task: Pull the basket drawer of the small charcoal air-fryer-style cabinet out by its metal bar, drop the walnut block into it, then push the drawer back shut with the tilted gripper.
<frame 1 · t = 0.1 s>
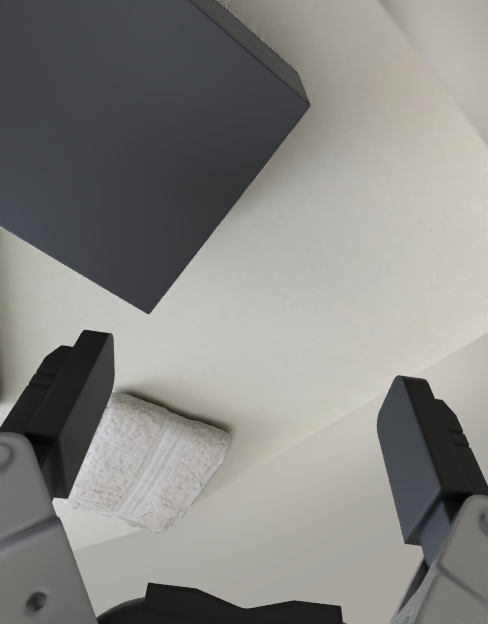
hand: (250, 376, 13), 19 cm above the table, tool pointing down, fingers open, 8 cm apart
washcloth: (145, 457, 45), on the table
cabinet: (131, 85, 26), on the table
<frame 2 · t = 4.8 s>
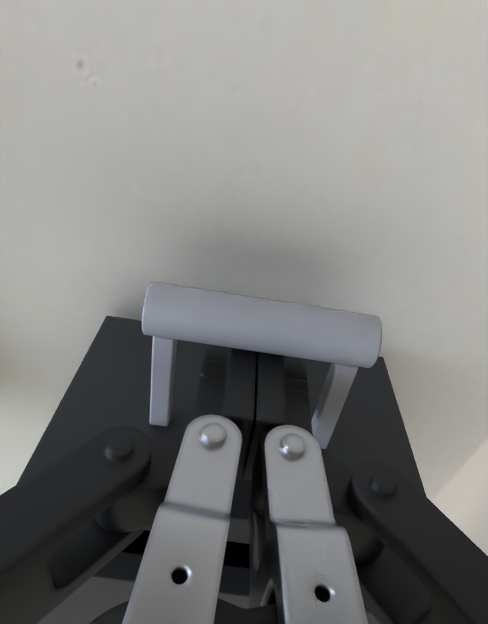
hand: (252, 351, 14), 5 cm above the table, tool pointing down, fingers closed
drawer: (225, 483, 17), point 5 cm above the table, slide at 1.0 cm, touching gripper
cabinet: (221, 461, 24), on the table
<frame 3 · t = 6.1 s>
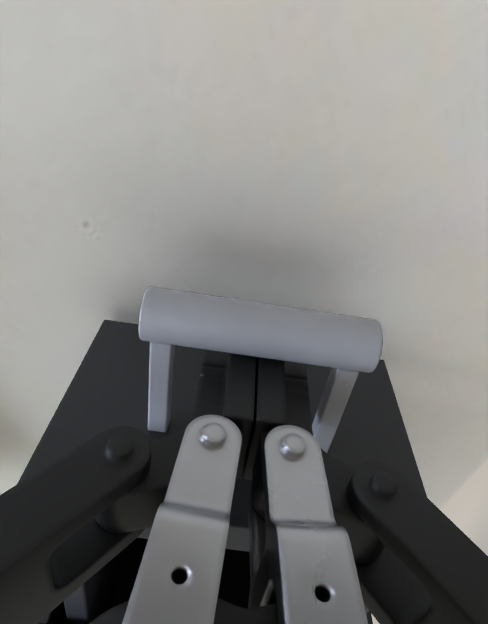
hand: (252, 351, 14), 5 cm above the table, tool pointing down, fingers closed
drawer: (225, 488, 17), point 5 cm above the table, slide at 6.2 cm, touching gripper
cabinet: (211, 518, 27), on the table
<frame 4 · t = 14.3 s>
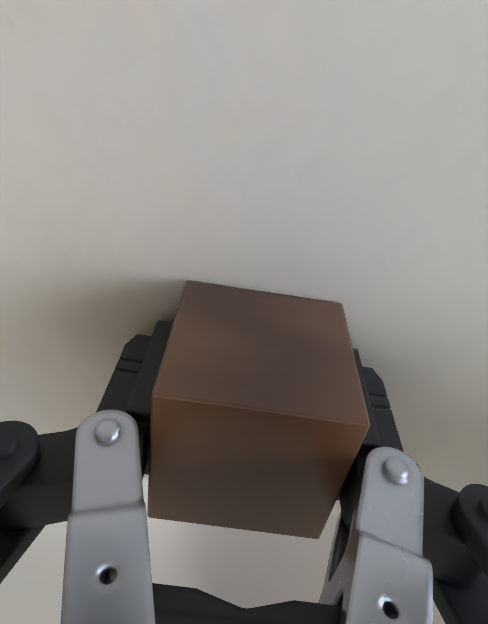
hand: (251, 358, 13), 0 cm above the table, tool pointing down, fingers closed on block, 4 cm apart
block: (253, 351, 14), on the table, touching gripper
when the fingers open (9 cm above the table, at t = 19.9 s): block drops 7 cm, resting on drawer.
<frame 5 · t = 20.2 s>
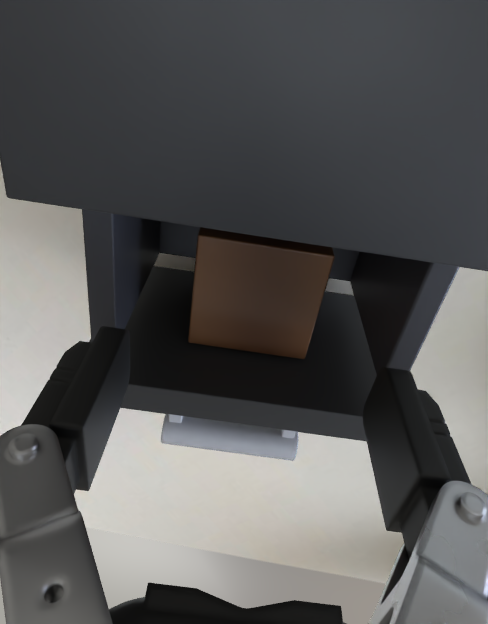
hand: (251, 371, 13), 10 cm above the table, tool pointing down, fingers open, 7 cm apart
drawer: (260, 261, 16), point 5 cm above the table, slide at 6.3 cm, touching block
block: (259, 245, 19), point 2 cm above the table, touching drawer
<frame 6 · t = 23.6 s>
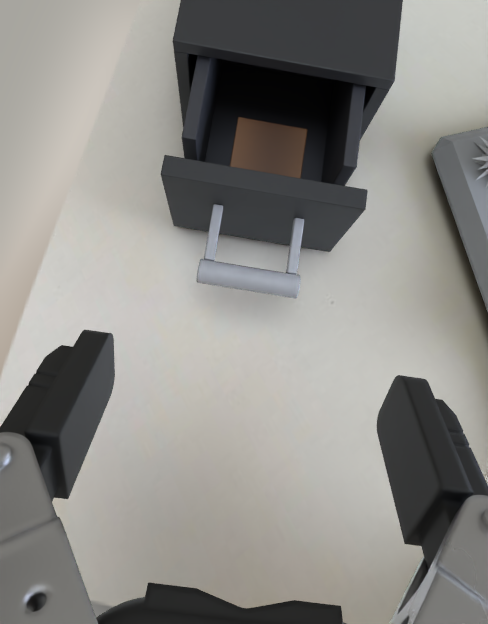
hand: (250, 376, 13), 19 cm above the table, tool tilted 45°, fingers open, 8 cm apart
drawer: (266, 157, 29), point 5 cm above the table, slide at 6.3 cm, touching block
block: (260, 186, 32), point 2 cm above the table, touching drawer
cabinet: (278, 68, 36), on the table
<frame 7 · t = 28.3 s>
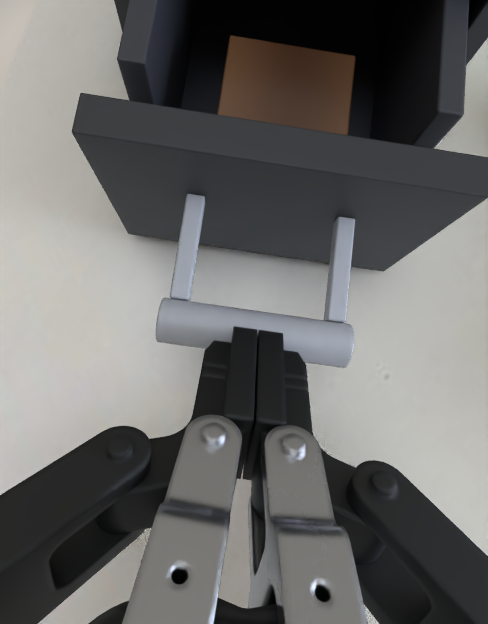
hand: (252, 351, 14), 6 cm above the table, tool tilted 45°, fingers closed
drawer: (281, 111, 17), point 5 cm above the table, slide at 5.2 cm, touching block, gripper
block: (270, 166, 19), point 2 cm above the table, touching drawer
cabinet: (289, 5, 23), on the table
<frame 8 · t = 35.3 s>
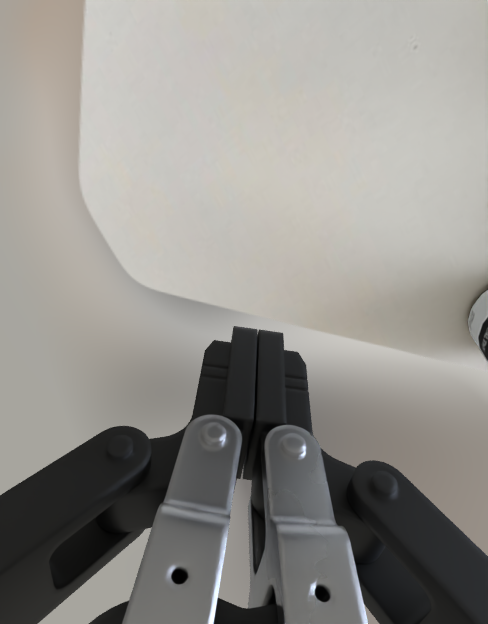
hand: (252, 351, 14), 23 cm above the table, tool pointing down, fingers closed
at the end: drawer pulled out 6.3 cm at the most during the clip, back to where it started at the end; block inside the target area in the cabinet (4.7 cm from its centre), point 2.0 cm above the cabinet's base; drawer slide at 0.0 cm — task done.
